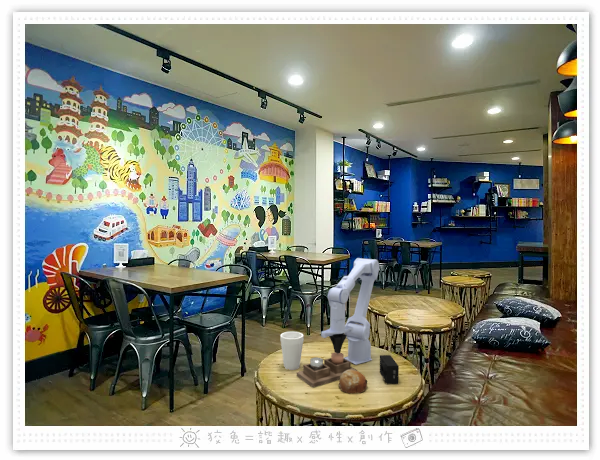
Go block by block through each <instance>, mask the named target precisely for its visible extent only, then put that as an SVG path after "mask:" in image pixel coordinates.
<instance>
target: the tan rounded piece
mask: <svg viewBox="0 0 600 460" xmlns="http://www.w3.org/2000/svg"><path fill="white" fill-rule="evenodd" d="M344 357H345V356H344V353H342V352H340V353H338V354H337V353H335V352H332V353H331V354H330V358H331V362H332V363H333V364H336V365H338V364H342V363H343V360H344Z"/></svg>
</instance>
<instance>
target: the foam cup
mask: <svg viewBox="0 0 600 460" xmlns="http://www.w3.org/2000/svg"><path fill="white" fill-rule="evenodd" d="M279 336H280V340H279V341H280V345H281V354H282V361H283V367H285V368H284V369H286V370H288V369H289V371H294V370H295V371H296V370H298V369H300V367H301V360H302V352H303V344H304V339H305V338H304V337H305V336H304V334H303V332H299V331H285V332H282V333H281V334H279Z"/></svg>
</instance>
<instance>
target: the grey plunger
mask: <svg viewBox="0 0 600 460" xmlns="http://www.w3.org/2000/svg"><path fill="white" fill-rule="evenodd" d="M309 360H310V363H309V364H310V368H311V369H312V370H320V369H323V364H324V359H323V358H321V357H312V358H310V359H309Z"/></svg>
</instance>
